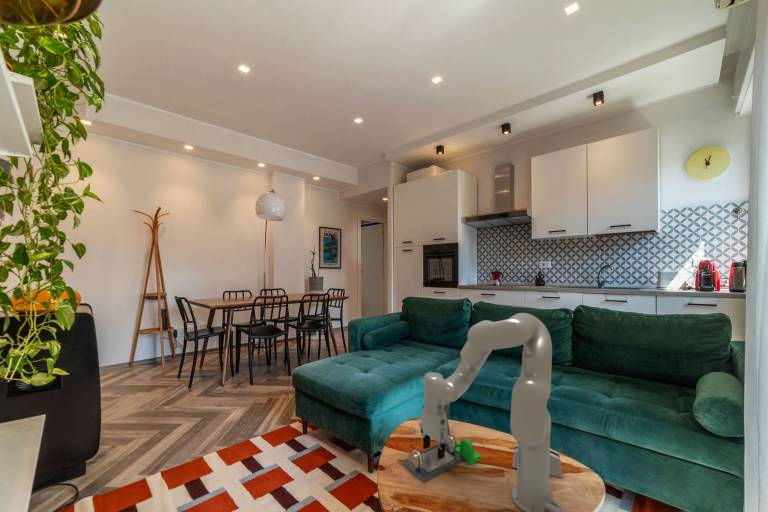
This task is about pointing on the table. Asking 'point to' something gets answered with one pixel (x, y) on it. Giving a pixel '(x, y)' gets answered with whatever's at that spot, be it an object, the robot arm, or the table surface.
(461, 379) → the robot arm
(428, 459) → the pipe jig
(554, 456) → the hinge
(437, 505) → the table surface
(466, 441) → the mechanical part
